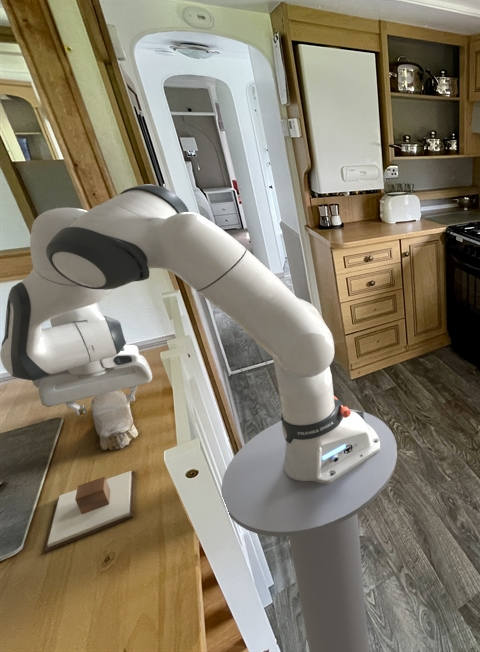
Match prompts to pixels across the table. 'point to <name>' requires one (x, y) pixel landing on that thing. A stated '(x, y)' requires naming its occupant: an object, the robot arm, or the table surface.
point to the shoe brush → (113, 420)
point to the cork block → (93, 495)
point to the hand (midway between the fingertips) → (107, 406)
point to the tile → (91, 513)
